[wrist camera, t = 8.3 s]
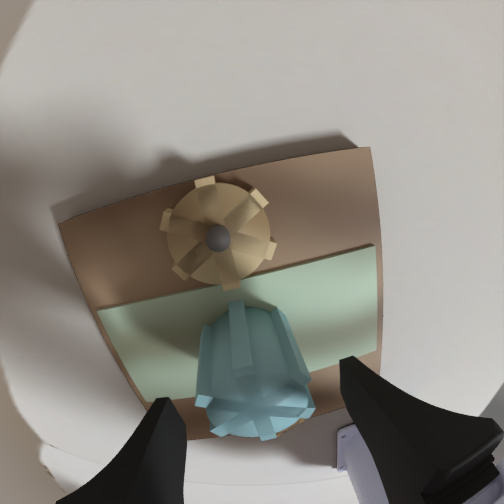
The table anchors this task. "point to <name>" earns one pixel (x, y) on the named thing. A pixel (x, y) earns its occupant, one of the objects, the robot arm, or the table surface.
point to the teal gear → (252, 374)
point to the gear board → (237, 271)
